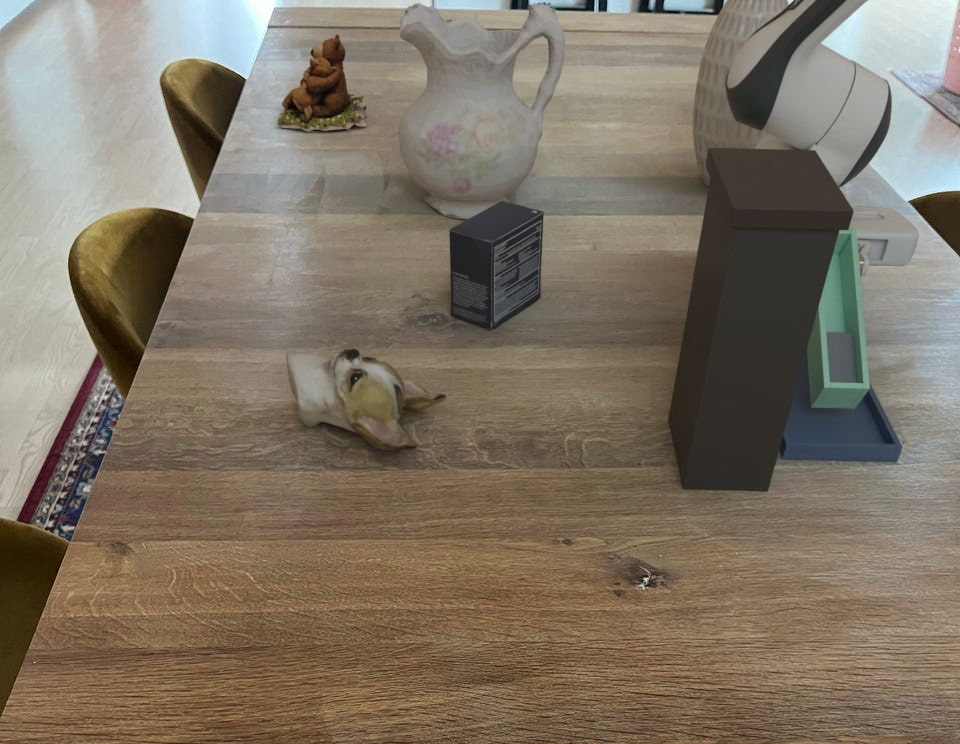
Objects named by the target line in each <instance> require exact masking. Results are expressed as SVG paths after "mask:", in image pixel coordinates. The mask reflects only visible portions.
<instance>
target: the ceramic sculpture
mask: <svg viewBox="0 0 960 744" xmlns="http://www.w3.org/2000/svg"><path fill="white" fill-rule="evenodd" d="M285 359H286V369H287V374H288V381H289V385H290V391H291V393H292V395H293V397H294V399H295V400H296V403H297V406H298V407H297V415H298V417H299V420H300V421H301V422H302V423H303V425H305V426H306V427H309V428H311V427H313V428H314V427H316V426H317V425H319V424H320V423H326V424H329V425H332V426H336V427H339V428H341V429H345V430H347V431H349V432H352V433H355V434H358V435H359V436H360V437H361V438H362V439H363V440H364V441H365V442H367V443H368V444H369V445H371V446H373V447H374V448H375V449H377V450H381V451H390V452H391V451H392V452H396V451H397V452H398V451H400V452H401V451H409V450H410V451H411V450H416V449H417V448H418V445H417V444H416V443H414V442H413V441H412V440H411V438H410V436H409V435H408V434H407V432H406V429H405V428H404V426H403V425H402V424H401V423H399V421H400V418H401V417H402V416H401V415H402V414H403V412H419V411H423V410H425V409H428V408H431V407H433V406H435V405H437V404H439V403H442V402H444V401H446V399H447V396H448V395H446V394H444V393H430V392H429V391H428V390H426V389H425V388H423V387H421V386H417V384H416V383H415V382H412V380H410V379H405V378H402V377H401V375H400V374H399V372H398V371H397V370H396V369H395V367H393V366H392V365H391V364H390V363H388V362H386V361H384V360H378V358H377V357H371V356H362V355H361V353H360V351H359V350H358V349H356V348H345V349H343V351H337V352H336V353H335V354H334V355H333V356H332V357H331V359H328V358H326V357H324V356H321V355H318V354H316V353H314V352H309V351H308V352H305V351H295V350H293V349H288V350H287V351H286V354H285Z"/></svg>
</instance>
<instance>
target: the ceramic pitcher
mask: <svg viewBox="0 0 960 744" xmlns="http://www.w3.org/2000/svg"><path fill="white" fill-rule="evenodd" d="M551 5H552V4H551V2H548V3H546V2H545V1H543V2H537V4H536V2H534V3H533V4H532V5H530V6H527V7H526V9H527V10H529V11H528V16H527V18H526V20H525V21H524V24H523V25H522V26H521V28H520V29H519V30H518V31H516V30H512V29H508V28H504V29H499V30H493V31H489V30H488V29H487V28H486V27H484V26H483V25H482V24H481V23H479V22H477V21H476V20H475V19H474V18H471V17H468V16H467V17H463V18H459V17H454V18H450V19H447V20H445V18H444V17H443V15H442V13H441V12H440V11H439V9H437V8H436V7H433V6H432V5H430V6H427V5H424V4H422V3H420V2H419V3H418V2H417V3H414V4H412V5H408V6H407V8H403V10H404V12H403V15H402V16H401V18H400V20H399V26H398V27H399V29H398V30H399V37H400V39H402V40H403V41H405V42H407V43H409V44H411V45H412V46H413V47H414V48H415V49H416V50H417V51H418V52H419V53H420V55H421V57H422V60H423V62H424V64H425V66H426V85H425V87H424V89H423V92H422V93H421V94H420V95H419V96H418V97H417V98H416V99H415V100H414V101H413V102H412V103H411V104H410V105H408V106H407V107H406V108H405V110H404V111H403V112H402V114H401V118H400V120H399V125H398V144H399V151H400V155H401V158H402V161H403V164H404V166H405V167H406V169H407V171H408V172H409V174H410V176H411V177H412V179H413V180H414V182H415V183H416V184H417V185H419V187H421V188H422V189H423V190H424V191H426V192H427V193H429V194H428V195H425V196H424V197H423V200H424V201H425V202H426V203H427V204H428V205H429V206H430V207H431V208H433V209H434V210H436V211H437V213H439V214H440V215H442V216H444V217H447V218H452V219H456V220H457V219H460V220H468V219H469V218H471V217H473V216H475V215H477V214H479V213H480V212H482V211H484V210H486V209H488V208H490V207H491V206H493V205H495V204H497V203H499V202H500V201H504V202H508V203H511V202H510V200H509V199H508V196H507V195H510V194H512V193H513V192H514V191H517V189H519V187H520V186H522V184H523V183H524V182H525V180H526V179H527V178H528V177H529V175H530V173H531V171H532V169H533V167H534V165H535V162H536V159H537V156H538V155H537V154H538V148H539V142H540V140H541V138H542V137H543V123H544V111H545V109H546V107H547V106H548V104H549V103H550V101H551V100H552V98H553V96H554V94H555V90H556V88H557V85H558V82H559V81H560V78H561V75H562V72H563V66H564V61H565V48H566V37H565V32H564V28H563V27H562V26H561V24H560V22H559V20H558V17H557V14H556V13H557V12H556V8H552V6H551ZM542 37H543V38H545V39H546V40H547V45H548V48H547V49H548V64H547V68H546V70H545V72H544V75H543V77H542V79H541V81H540V83H539V86H538V89H537V93H536V96H535V100H534V101H533V103H532V105H531V107H529V106H528V105H527V104H526V103H525V102H524V101H523V100H522V99H520V97H519V96H518V95H517V93H516V91H515V88H514V85H513V83H514V81H513V79H514V72H515V66H516V62H517V61H516V59H517V58H518V56H519V54H520V52H521V51H522V50H524V49H526V47H527V46H528V45H530V43H532V42H533V41H536V40H537V39H539V38H542Z"/></svg>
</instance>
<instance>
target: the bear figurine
mask: <svg viewBox="0 0 960 744" xmlns="http://www.w3.org/2000/svg"><path fill="white" fill-rule="evenodd" d="M310 55H311V58H309V66H308V67H307V68H306V69H305V70H304V72H303V76H302V79H301V80H300V83H299V87H296V88H292V89H291V90H290V91H289V93H288V94H287V95H286V96H285V97H284V99H283V100H282V102H281V106H282V108H283V110H282V112H280V113H279V118H278V119H277V126H279V128H282V129H297V130H298V129H299V130H300V129H301V130H302V131H305V132H307V133H316V131H315V130H318V131H321V132H324V131H325V132H327V131H336V130H337V131H338V130H349V129H350V128H352V127H353V126H354V125H355V126H356V127H361V128H362V127H363V128H364V127H367V126H368V123H366V122H365V120H366V119H367V117H368V115H366V116H364V115H365V114H366V113H365V112H366V110H367V107H368V106H367V105H365V106H362V105H361V103H363V99H364V97H365V96H364V95H360V96H355V94H354V93H349V92H348V87H347V79H346V75H345V74H346V73H345V72H344V63H343V62H344V61H345V58H346V48H345V46H344V45H343V43H342V42H341V39H340V36H339V34H337V33H336V34H335V36H334V38H333V37H330V38H328V39H326V40H324V41H323V42H322V43H317V44H315V45H314V46H313V47H312V49H311V50H310ZM353 96H354V97H353Z"/></svg>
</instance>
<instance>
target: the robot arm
mask: <svg viewBox="0 0 960 744" xmlns="http://www.w3.org/2000/svg"><path fill="white" fill-rule="evenodd" d="M868 1H869V0H792V1H791V2H790V3H788V4H789V5H788V6H787V7H786V8H785V9H784V10H783V11H781V12H780V13H779V14H778V15H776V16H775V17H774V18H772V19H771V20H770V21H768V22H767V23H765V24H764V25H763V26H761V27H760V28H759V29H758V30H756V31H755V32H754V33H753V34H752V35H751V36H750V37H749V38H748V40H747V41H746V42H745V43H744V45H743V46H742V47H741V49H740V50H739V52H738V53H737V55H736V57H735V59H734V60H733V62H732V64H731V66H730V69H729V71H728V74H727V77H726V81H725V88H726V94H727V99H728V103H729V106H730V109H731V112H732V114H733V116H734V119H735V120H736V121H737V122H740V123H742V124H745V125H747V126H750V127H752V128H755V129H757V130H760V131H761V130H763V131H765V132H767V133H769V135H767V136H766V137H764V138H763V139H762V140H761V141H760V142H759V143H758V144H757V145H756V146H755V148H754V149H781V150H815V151H816V152H817V154H818V155H819V157H820V159H821V160H822V162H823V163H824V165H825V166H826V168H827V170H828V171H829V173H830V174H831V176H832V177H833V179H834V180H835V182H836V184H837V185H838V187H839V188H840V190H841V191H842V193H843V195H844V196H845V194H844V192H843V190H842V188H841V187H844V186H845V185H847V184H848V183H849V182H851V181H852V180H853V179H855V178H856V177H857V176H858V175H859V174H861V172H863V170H864V169H865V168H866V167H867V166H868V165H869V164H870V162H871V161H872V160H873V158H874V157H875V156H876V154H877V152H878V151H879V149H880V148H881V146H882V145H883V143H884V141H885V139H886V137H887V135H888V132H889V129H890V126H891V120H892V110H893V109H892V108H893V107H892V106H893V98H892V89H891V86H890V84H889V81H888V80H887V79H885V78H883V77H882V76H880V75H878V74H877V73H875V72H873V71H872V70H870V69H869V68H867V67H864V66H863V65H861V64H860V63H858V62H857V61H854V60H852V59H849V58H848V57H846V56H844V55H842V54H840V53H838V52H837V51H835V50H833V49H831V48H830V47H828V46H827V45H825V44H823V43H822V42H824V41H825V40H826V39H827V38H828V37H829V36H830V35H831V34H833V32H835V31H836V30H837V29H838V28H839V27H840V26H842V25H843V24H844V22H846V21H847V20H848V19H849V18H850V17H852V15H853V14H854V13H855V12H857V11H858V10H859V9H860V8H861V7H862V6H863V5H865V3H867V2H868ZM851 207H852V209H853V210H854V212H853V215H852V219H851V222H850V226H849V229H857V241H858V253H859V265H860V276H861V277H865V276H866V275H867V272H868V269H869V266H877V267H878V266H879V267H904V266H906V265H907V264H908V263H909V262H910V261H911V260H912V258H913V256H914V253H915V251H916V248H917V245H918V242H919V238H920V237H919V236H920V232H919V230H918V228H916V226H915V225H914V224H913V223H912V222H911V221H910V220H909V219H907V218H906V217H905V216H904V215H903V214H901V213H900V212H899V211H897V210H894V209H892V208H888V207H881V206H879V207H878V206H874V207H873V206H851Z"/></svg>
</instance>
